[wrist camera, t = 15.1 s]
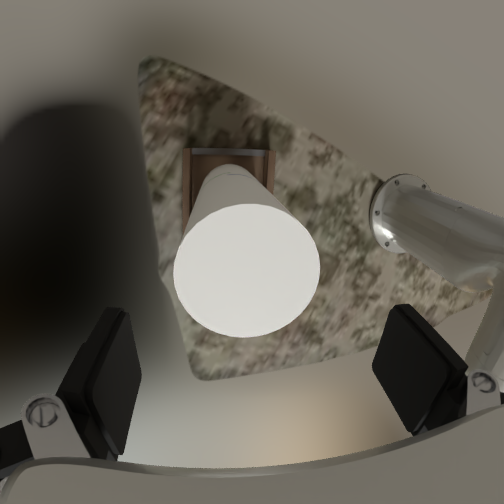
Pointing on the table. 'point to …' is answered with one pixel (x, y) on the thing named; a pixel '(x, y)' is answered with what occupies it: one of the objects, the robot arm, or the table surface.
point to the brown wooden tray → (207, 159)
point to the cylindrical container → (244, 258)
